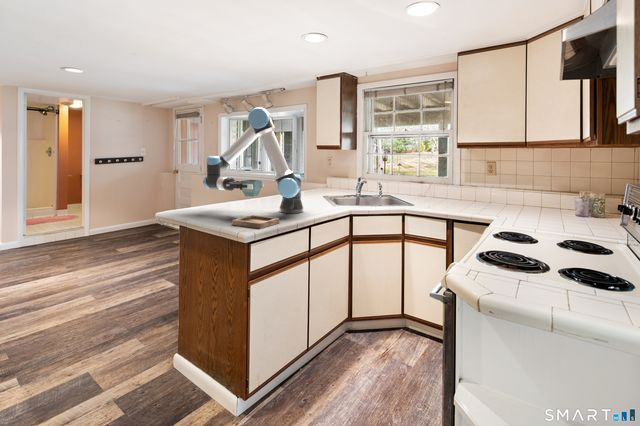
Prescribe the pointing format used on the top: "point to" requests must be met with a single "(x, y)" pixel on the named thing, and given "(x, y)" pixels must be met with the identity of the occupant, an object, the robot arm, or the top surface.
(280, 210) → the robot arm
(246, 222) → the walnut tray
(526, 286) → the top surface
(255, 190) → the flower pot
